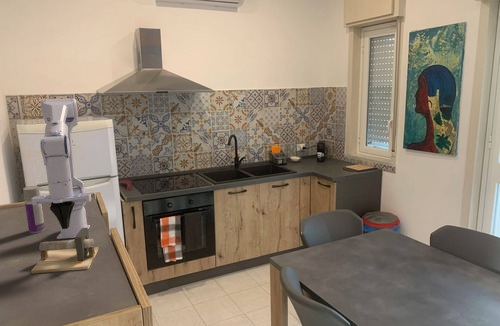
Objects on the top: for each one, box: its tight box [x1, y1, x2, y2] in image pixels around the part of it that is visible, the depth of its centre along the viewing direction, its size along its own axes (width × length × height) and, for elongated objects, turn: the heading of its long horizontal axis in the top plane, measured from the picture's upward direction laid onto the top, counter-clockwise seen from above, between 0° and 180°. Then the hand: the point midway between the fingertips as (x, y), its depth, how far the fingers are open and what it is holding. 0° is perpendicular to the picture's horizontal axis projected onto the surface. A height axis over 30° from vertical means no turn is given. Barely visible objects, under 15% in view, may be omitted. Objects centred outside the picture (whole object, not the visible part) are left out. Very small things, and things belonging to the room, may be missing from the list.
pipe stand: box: [31, 238, 100, 275], centre depth 102 cm, size 12×14×6 cm
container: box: [22, 185, 46, 234], centre depth 122 cm, size 5×5×15 cm
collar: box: [74, 228, 90, 261], centre depth 103 cm, size 7×2×7 cm, turn 9°
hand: (65, 227), depth 102 cm, fingers closed
